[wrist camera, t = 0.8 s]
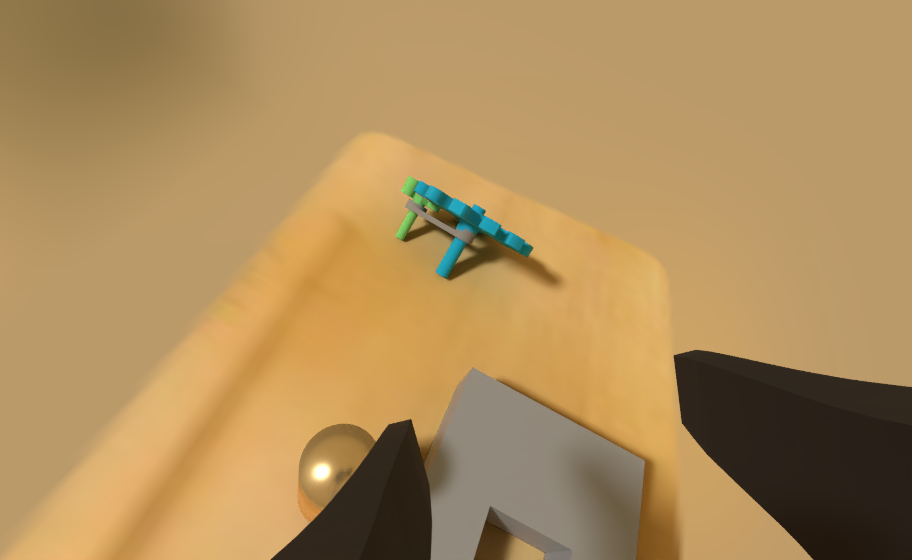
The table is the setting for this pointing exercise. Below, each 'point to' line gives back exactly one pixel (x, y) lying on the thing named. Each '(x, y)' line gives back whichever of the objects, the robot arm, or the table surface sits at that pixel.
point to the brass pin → (329, 465)
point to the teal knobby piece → (465, 230)
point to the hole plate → (529, 479)
